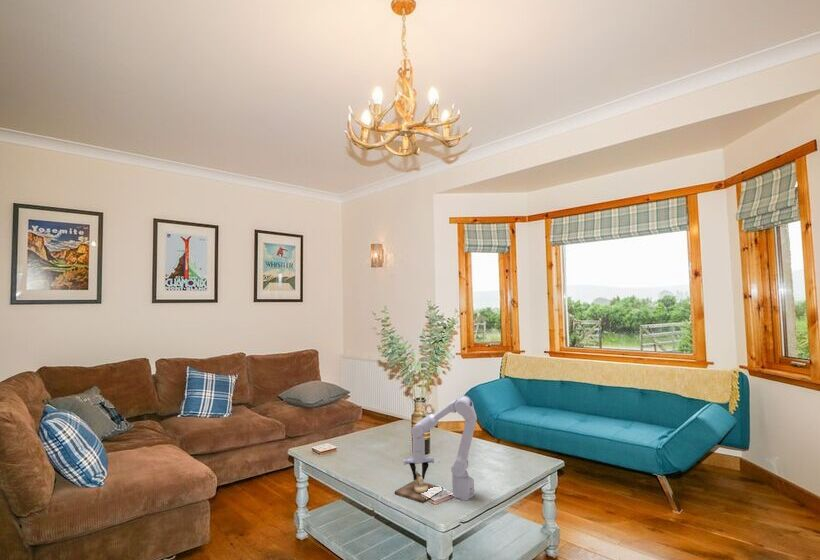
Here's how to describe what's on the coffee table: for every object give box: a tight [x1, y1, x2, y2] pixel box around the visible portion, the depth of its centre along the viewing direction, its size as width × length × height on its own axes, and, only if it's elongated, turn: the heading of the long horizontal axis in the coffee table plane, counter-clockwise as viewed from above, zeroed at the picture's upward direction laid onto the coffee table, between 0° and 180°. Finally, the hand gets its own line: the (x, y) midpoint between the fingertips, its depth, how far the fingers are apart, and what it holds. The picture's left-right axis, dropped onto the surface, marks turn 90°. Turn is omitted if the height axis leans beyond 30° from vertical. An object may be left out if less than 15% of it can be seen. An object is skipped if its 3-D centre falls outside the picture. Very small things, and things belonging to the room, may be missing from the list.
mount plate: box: [394, 480, 444, 504], centre depth 207 cm, size 16×16×1 cm
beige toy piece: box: [412, 471, 428, 494], centre depth 207 cm, size 11×6×6 cm, turn 20°
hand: (419, 478), depth 210 cm, fingers open, 3 cm apart
